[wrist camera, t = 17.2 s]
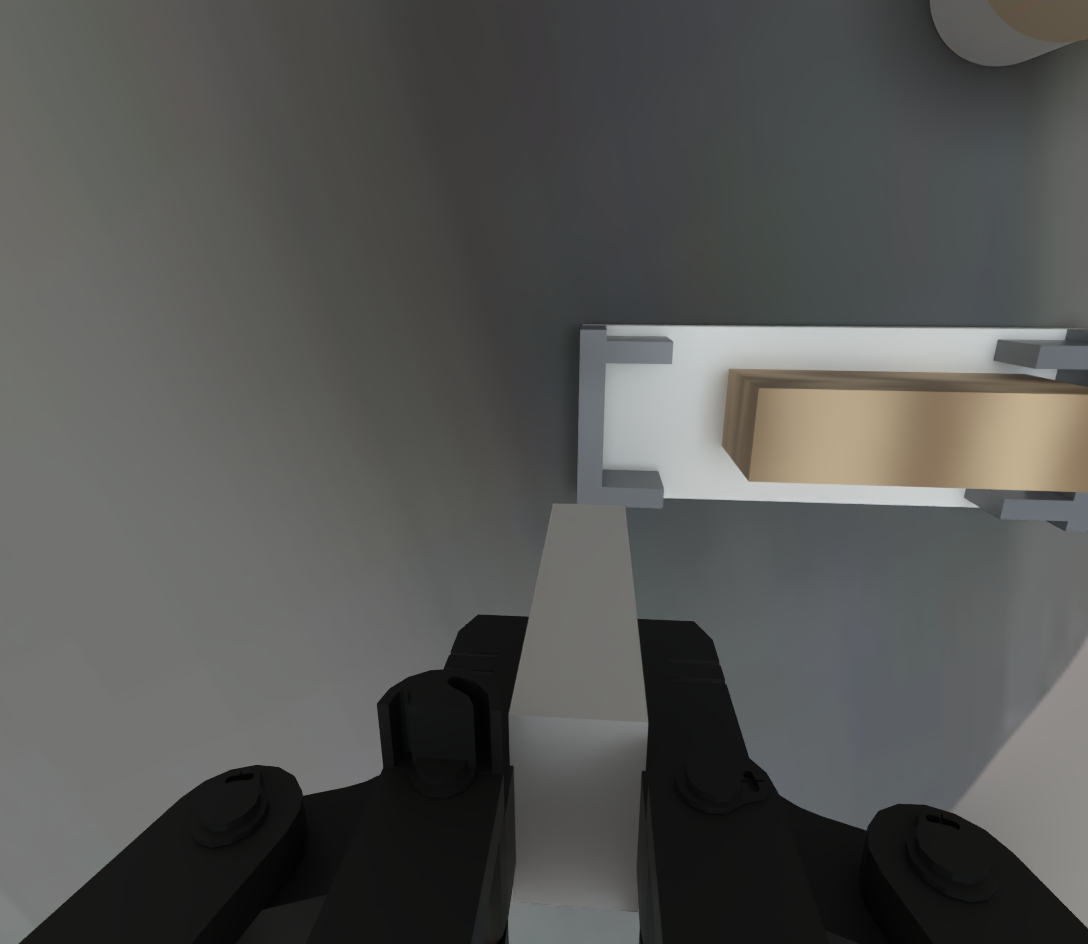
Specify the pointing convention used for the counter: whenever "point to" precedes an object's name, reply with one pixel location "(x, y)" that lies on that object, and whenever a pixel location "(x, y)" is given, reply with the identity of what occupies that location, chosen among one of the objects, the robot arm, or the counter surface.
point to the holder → (711, 350)
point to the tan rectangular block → (908, 429)
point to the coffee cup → (1008, 28)
